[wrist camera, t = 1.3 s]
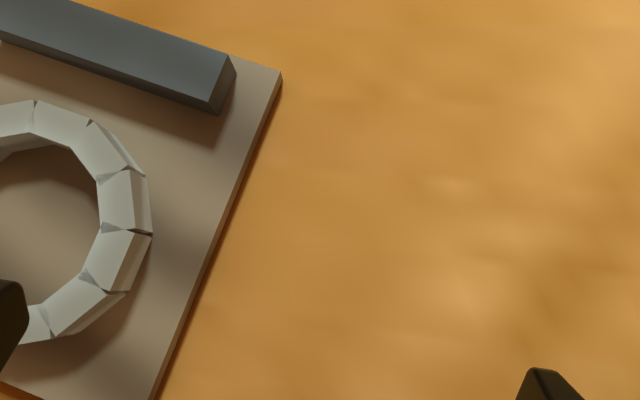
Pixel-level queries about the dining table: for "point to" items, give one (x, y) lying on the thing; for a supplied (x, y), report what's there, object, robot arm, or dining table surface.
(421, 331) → the dining table surface
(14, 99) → the jig
